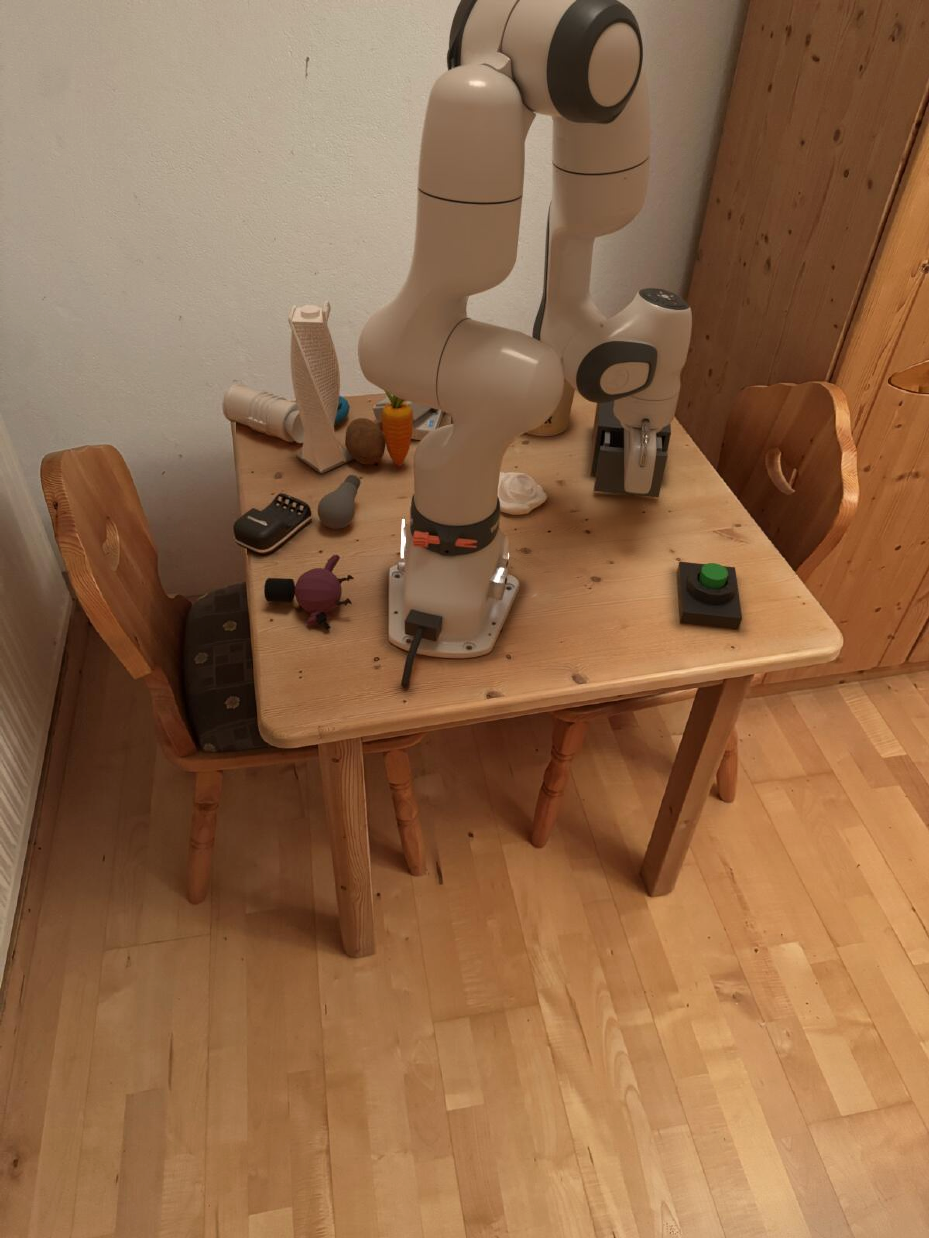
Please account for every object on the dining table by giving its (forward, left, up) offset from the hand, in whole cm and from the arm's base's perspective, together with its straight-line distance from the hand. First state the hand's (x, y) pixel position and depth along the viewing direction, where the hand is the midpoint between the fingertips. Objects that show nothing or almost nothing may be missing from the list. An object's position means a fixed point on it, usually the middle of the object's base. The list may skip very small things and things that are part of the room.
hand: (630, 483), depth 137 cm
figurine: (-30, +49, -3) cm, 58 cm away
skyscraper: (+6, +50, -6) cm, 51 cm away
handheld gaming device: (+16, +41, 0) cm, 44 cm away
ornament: (+17, +50, -3) cm, 53 cm away
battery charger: (-9, +51, -4) cm, 52 cm away
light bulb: (-4, +42, -1) cm, 43 cm away
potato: (+8, +44, +1) cm, 45 cm away
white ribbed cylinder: (+10, +55, -2) cm, 56 cm away
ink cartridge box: (+21, +33, -5) cm, 39 cm away
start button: (-19, -11, -2) cm, 23 cm away
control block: (-19, -11, -6) cm, 23 cm away
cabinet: (+17, 0, -6) cm, 18 cm away
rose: (+1, +18, -6) cm, 18 cm away
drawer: (+10, 0, -5) cm, 11 cm away
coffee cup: (+25, +15, -6) cm, 30 cm away
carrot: (+7, +38, -6) cm, 39 cm away
